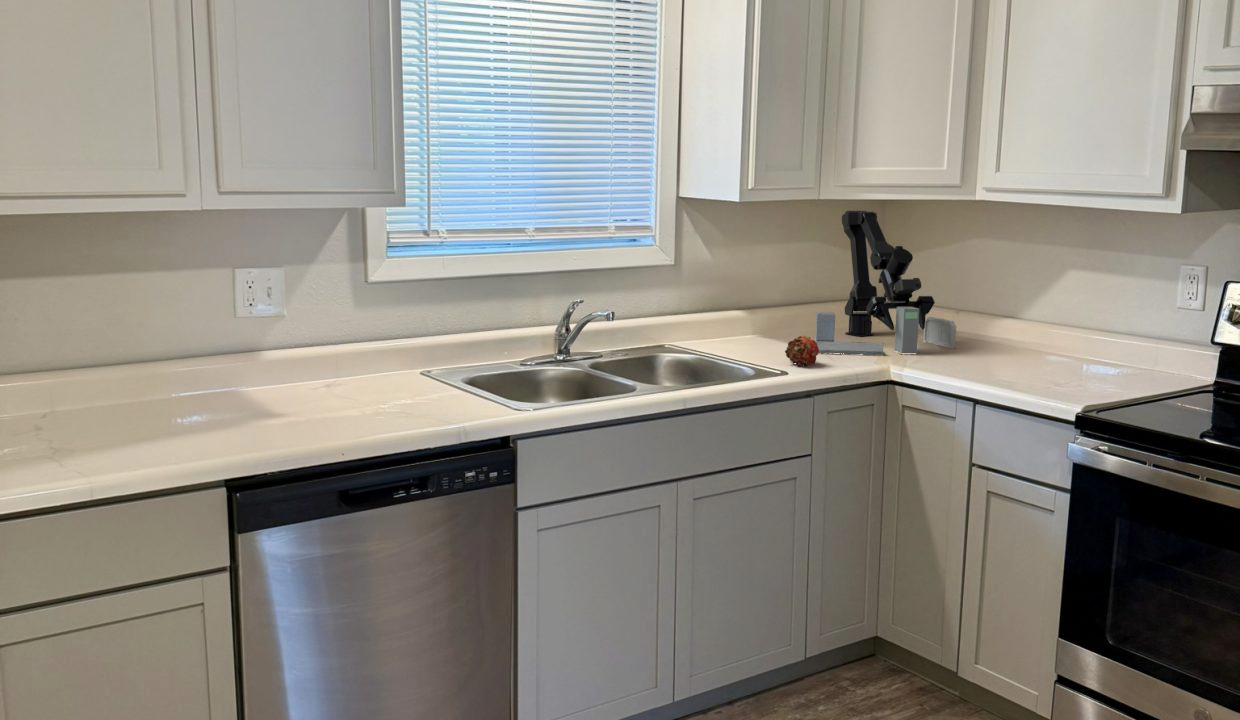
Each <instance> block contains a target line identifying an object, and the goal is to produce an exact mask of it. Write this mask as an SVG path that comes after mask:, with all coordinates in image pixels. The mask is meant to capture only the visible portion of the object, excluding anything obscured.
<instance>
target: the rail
mask: <svg viewBox="0 0 1240 720" xmlns="http://www.w3.org/2000/svg"><path fill="white" fill-rule="evenodd" d="M815 321H816V323H815V342H816V343H817V346H818V349H819V352H818V353H842V354H843V353H844V354H863V355H862V356H871V355H883V356H884V342H862V341H861V342H860V341H857V342H856V341H835V332H836V331H835V330H836V328H835V327H836V313H835V311H834V312H832V311H829V312H828V311H826V312H825V311H824V312H823V311H817V312H816V320H815Z"/></svg>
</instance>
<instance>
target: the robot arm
mask: <svg viewBox="0 0 1240 720" xmlns="http://www.w3.org/2000/svg"><path fill="white" fill-rule="evenodd" d="M841 225H843V231H844V234H845V235H846V236H847V237H848V239H849V241H850V242H849V243H850V252H851V253H850V254H851V265H852V277H853V286H852V288H851V290H850V292H849V298H848V300H847V302H846V303H845V304H846V305H845V306H844V315H846V316H848V331H846V332H844V334H845V335H850V336H856V337H865V336H866V337H867V336H873V335H874V332H872V331H873V330H872V328H873V320H872V318H876V319H878V321H880V322H881V323H883V324H884V325H885V326H886V327H887V328H889V329H890V330H891V331H895V330H894V329H895V325H894V321H893V319H892V316H891V313H890V310H892V309H895V310H897V307H915V308H918V309H919V324H918V326H919V327H920V328H921V330H922V331H924V328H925V320H926V318H927V317H926V316H927V315H928V314H929V313H930V312H931V310H932V308H933V307H934V305H935V304H936V301H935V299H934V297H933V296H932V295H919V296H918V297H917V299H916V300H911V301H910V299H912V297H913V296H914V295H913V293H914V292H916V291H919V290H920V289H921V288H922V281H921V280H920V278H919V277H913V278H907V279H905V278H904V279H903V278H902V276H903V275H905V274H906V273H907V270H908V269H909V267H910V265H911V263H912V262H913V259H914V257H913V254H912V253H911V252H910V251H909V250H908V249H905V248H904V247H903V246H902V245H895V246H893V245H892V244H890V243H888V242H887V240H886V238H885V235H884V232H883V230H882V228H881V226H880V223H879V221H878V215H877V213H876V212H874V211H867V210H847V211H845V213H843V214H842V215H841ZM867 243H868V245H869V248H870V250H871V253H870V257H869V259H870V264H871V266H872V268H873V270H874V271H881V272H880V274H879V278H878V284H882V287H883V291H884V292H883V293H884V294H883V296H878V290H877V287H876V286H875V285H873V284H872V283H871V282H870V271H869V270H870V269H869V261H868V247H867Z"/></svg>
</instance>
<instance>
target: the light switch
mask: <svg viewBox="0 0 1240 720" xmlns="http://www.w3.org/2000/svg"><path fill="white" fill-rule="evenodd" d="M956 335H957V325H956V323H955V322H954V320H950V319H944V318H940V317H934V316H927V317H925V328H924V330H923V340H922V342H923V343H926V342H929V343H928V344H932V343H933V345H937V346H940V345H941V346H942V347H946V348H948V349H955V348H956Z"/></svg>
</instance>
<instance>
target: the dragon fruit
mask: <svg viewBox="0 0 1240 720" xmlns="http://www.w3.org/2000/svg"><path fill="white" fill-rule="evenodd" d="M818 352H819V349H818V346H817V343H816V340H814V339H812V338H811V337H810V336H807V335H802V336H801V335H799V336H797V337H795V338H794V339H793V340H790V341H788V342H787V347H786V349H785V350H784V353H785V356H786V358H787V359H789V361H790V362H791V363H792V364H793V363H796V364H795V365H798V366H800V365H804V366H807V364H809V365H811V364H812V365H813V364H815V363H816V361H817V356H818V355H819V354H818Z"/></svg>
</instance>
